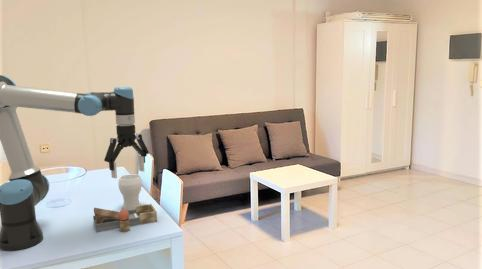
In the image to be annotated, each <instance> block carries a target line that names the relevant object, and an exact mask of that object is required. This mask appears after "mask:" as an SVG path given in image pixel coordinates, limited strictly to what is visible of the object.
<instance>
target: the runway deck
mask: <svg viewBox="0 0 482 269" xmlns="http://www.w3.org/2000/svg"><path fill="white" fill-rule="evenodd" d="M127 211H128V212H129V227H134V226H139V225H142V224H141V222H140V217H138V215H137V214H136V209H134V210H127ZM92 219H93V225H94V229H95V233H99V232H100V233H101V232H104V231H105V232H106V231H111V230H116V229H120V223H119V220H116V219H110V218H104V217H103V223H100V224H97V223H96V217H95V215H93V218H92Z"/></svg>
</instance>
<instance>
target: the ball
mask: <svg viewBox="0 0 482 269" xmlns="http://www.w3.org/2000/svg"><path fill="white" fill-rule="evenodd" d="M118 212H119V213H118V217H119V219H120V220H127V219H128V218H129V212H128V211H127V210H125V209H121V210H119V211H118Z"/></svg>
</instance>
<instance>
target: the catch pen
mask: <svg viewBox="0 0 482 269" xmlns="http://www.w3.org/2000/svg"><path fill="white" fill-rule="evenodd" d="M136 214H137V215H138V217H140V222H141V224H140V225H145V224H150V223H156V222H158V217H157V215H158V214H157V210H156V209H155V207H154V206H153V204H152V203H148V204H141V205H140V206H136Z"/></svg>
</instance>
